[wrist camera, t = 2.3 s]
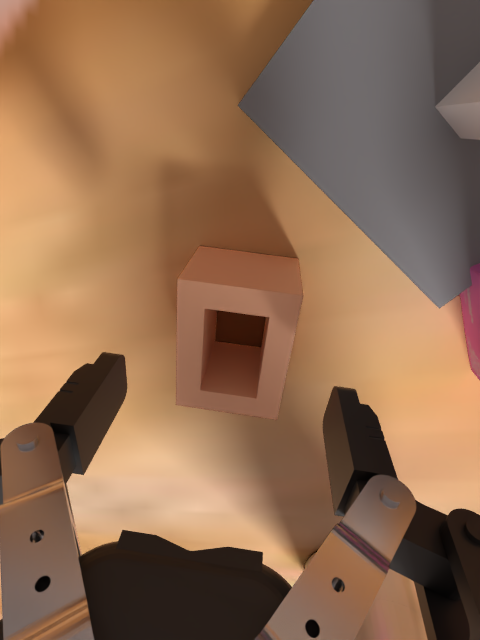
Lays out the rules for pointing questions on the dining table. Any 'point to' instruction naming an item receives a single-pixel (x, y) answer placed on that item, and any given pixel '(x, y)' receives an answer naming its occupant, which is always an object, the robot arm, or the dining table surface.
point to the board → (387, 126)
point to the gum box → (472, 318)
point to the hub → (226, 358)
